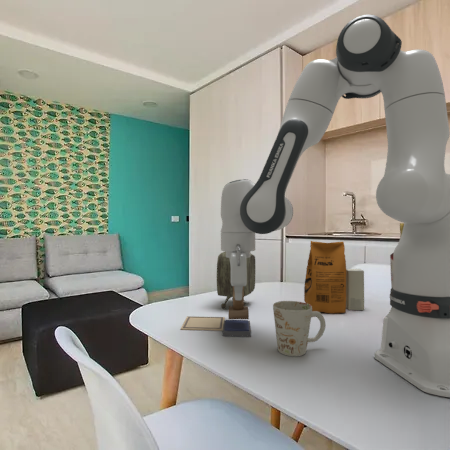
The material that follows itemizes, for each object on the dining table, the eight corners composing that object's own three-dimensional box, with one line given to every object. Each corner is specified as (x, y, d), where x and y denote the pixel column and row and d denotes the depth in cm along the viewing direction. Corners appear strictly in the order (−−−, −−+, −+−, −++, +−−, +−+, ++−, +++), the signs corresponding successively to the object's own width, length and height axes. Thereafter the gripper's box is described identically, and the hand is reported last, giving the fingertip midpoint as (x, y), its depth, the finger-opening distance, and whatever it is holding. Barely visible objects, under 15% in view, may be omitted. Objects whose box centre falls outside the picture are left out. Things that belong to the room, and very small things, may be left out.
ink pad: (251, 336, 81) (251, 330, 81) (222, 336, 82) (222, 330, 82) (249, 325, 90) (249, 319, 90) (223, 324, 91) (224, 319, 91)
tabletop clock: (231, 299, 119) (232, 229, 119) (255, 302, 116) (256, 230, 116) (216, 309, 106) (217, 230, 106) (243, 312, 103) (244, 231, 102)
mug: (265, 346, 75) (266, 302, 75) (312, 340, 80) (313, 298, 80) (285, 361, 67) (285, 312, 67) (336, 353, 72) (336, 306, 72)
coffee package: (302, 305, 113) (303, 240, 112) (340, 306, 111) (341, 240, 111) (306, 313, 103) (307, 241, 102) (348, 314, 101) (349, 242, 101)
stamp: (248, 319, 83) (248, 287, 83) (228, 319, 83) (228, 287, 83) (247, 313, 88) (247, 283, 88) (228, 313, 88) (228, 283, 88)
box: (360, 307, 111) (360, 268, 110) (364, 310, 106) (365, 270, 106) (343, 306, 111) (344, 268, 111) (347, 310, 107) (347, 270, 107)
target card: (223, 330, 86) (223, 329, 86) (180, 329, 86) (180, 328, 86) (224, 318, 97) (224, 316, 97) (187, 317, 97) (187, 316, 97)
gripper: (252, 246, 75) (252, 308, 75) (248, 241, 95) (249, 290, 95) (224, 246, 75) (224, 307, 75) (226, 241, 96) (226, 290, 96)
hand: (238, 297), depth 85 cm, fingers closed on stamp, 3 cm apart
